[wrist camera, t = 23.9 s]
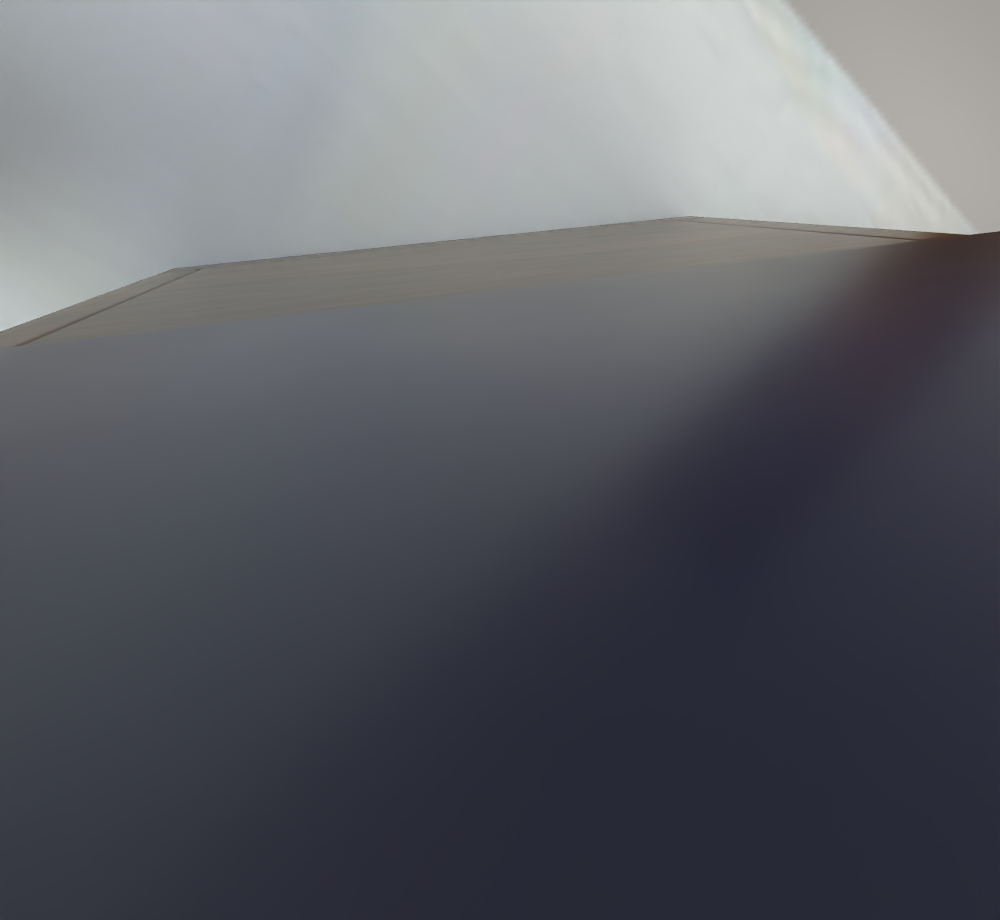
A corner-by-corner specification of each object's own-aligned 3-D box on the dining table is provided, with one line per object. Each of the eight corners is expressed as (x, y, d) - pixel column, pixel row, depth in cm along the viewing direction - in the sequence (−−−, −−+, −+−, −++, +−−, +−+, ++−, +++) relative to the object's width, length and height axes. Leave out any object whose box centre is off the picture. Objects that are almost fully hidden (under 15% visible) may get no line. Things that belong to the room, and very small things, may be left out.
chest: (656, 645, 23) (830, 922, 14) (326, 721, 21) (291, 1100, 12) (690, 215, 15) (1120, 244, 6) (171, 268, 13) (-233, 415, 4)
